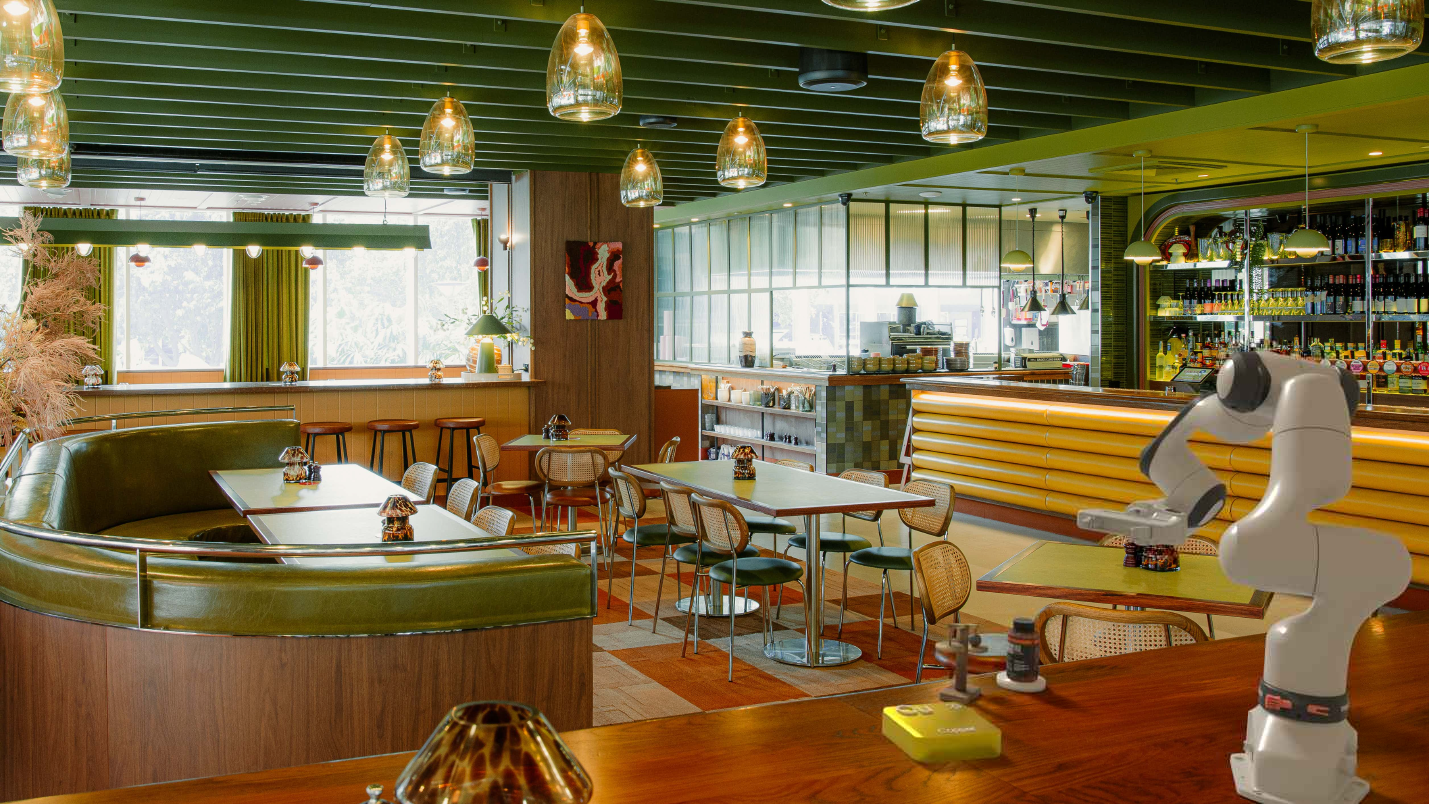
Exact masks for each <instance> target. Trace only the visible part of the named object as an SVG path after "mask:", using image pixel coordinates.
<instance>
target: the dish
mask: <svg viewBox="0 0 1429 804" xmlns="http://www.w3.org/2000/svg"><path fill="white" fill-rule="evenodd" d="M996 684H997V685H998V686H1000V688H1004V689H1005V690H1009V691H1012V692H1013V691H1014V692H1018V693H1019V692H1020V693H1038V692H1039V693H1040V692H1043V691H1044V690H1046V687H1047V686H1046V685H1047V681H1046V679H1045V678H1044V677H1043V676H1040V675H1038V679H1037V680H1036V681H1033V682H1019V681H1015V680H1011V679H1010V678H1008V677H1007V675H1006V671H1001V672H999V673H997V675H996Z"/></svg>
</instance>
